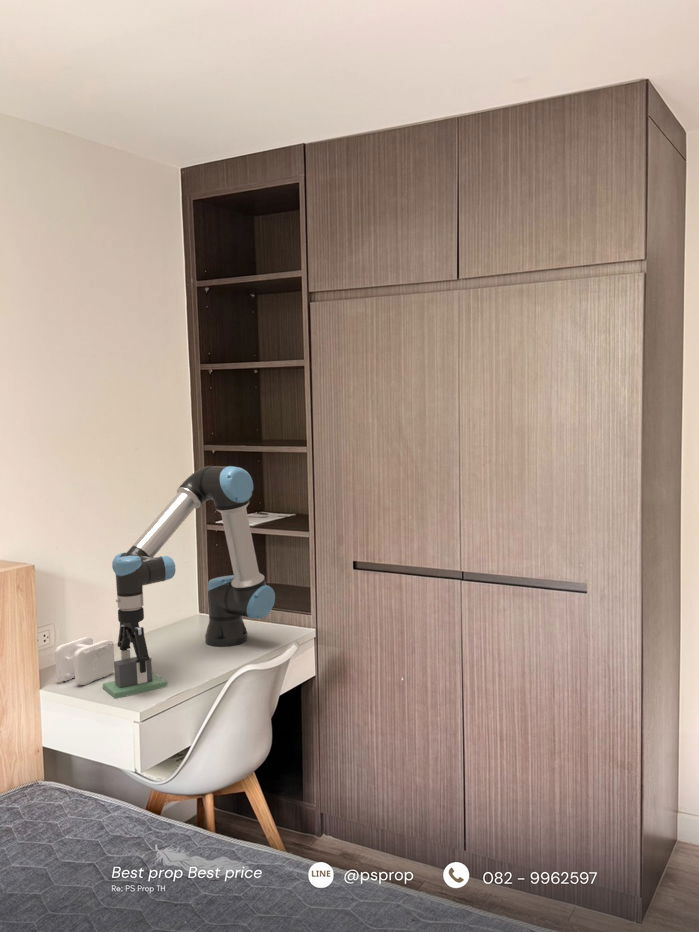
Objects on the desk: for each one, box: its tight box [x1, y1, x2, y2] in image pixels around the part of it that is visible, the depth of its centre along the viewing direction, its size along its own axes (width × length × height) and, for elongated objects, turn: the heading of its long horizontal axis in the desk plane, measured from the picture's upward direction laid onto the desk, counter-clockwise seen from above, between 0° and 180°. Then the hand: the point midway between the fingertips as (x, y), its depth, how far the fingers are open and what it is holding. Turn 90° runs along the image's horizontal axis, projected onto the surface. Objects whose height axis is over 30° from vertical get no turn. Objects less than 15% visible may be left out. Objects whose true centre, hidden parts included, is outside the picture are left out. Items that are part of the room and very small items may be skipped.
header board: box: [102, 672, 168, 699], centre depth 255 cm, size 16×11×6 cm
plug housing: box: [113, 656, 153, 688], centre depth 255 cm, size 10×4×7 cm, turn 124°
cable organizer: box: [54, 636, 115, 686], centre depth 265 cm, size 15×11×12 cm
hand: (134, 676), depth 255 cm, fingers open, 13 cm apart
